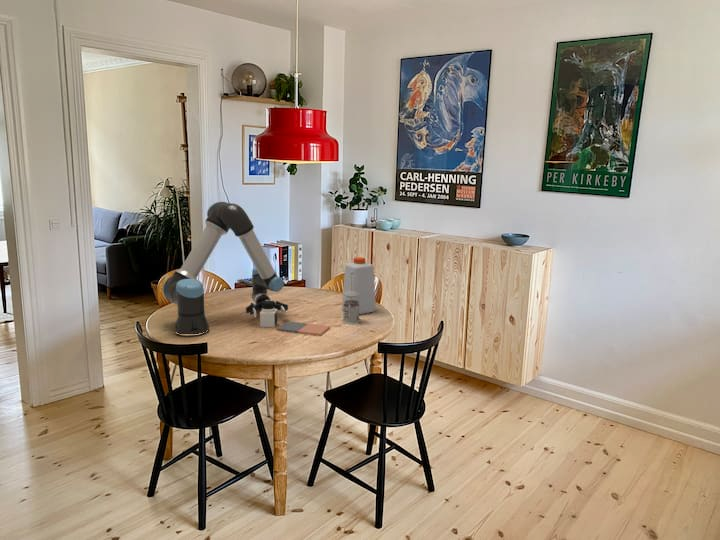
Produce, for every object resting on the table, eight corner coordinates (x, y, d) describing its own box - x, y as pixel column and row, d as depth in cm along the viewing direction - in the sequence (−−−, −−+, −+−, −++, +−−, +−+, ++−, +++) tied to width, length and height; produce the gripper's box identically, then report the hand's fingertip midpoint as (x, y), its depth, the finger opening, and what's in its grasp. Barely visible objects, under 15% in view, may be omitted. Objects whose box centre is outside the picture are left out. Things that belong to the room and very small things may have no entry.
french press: (343, 324, 262) (344, 274, 257) (338, 317, 273) (338, 269, 268) (363, 323, 265) (364, 273, 260) (357, 316, 276) (357, 268, 271)
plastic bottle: (362, 305, 297) (363, 254, 291) (378, 312, 284) (379, 259, 278) (339, 309, 289) (339, 257, 283) (354, 316, 276) (354, 262, 270)
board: (320, 336, 246) (320, 333, 245) (276, 330, 252) (276, 328, 252) (330, 328, 257) (330, 326, 257) (287, 323, 264) (287, 321, 263)
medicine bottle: (275, 327, 257) (274, 303, 254) (260, 327, 257) (259, 302, 254) (277, 323, 264) (277, 299, 261) (262, 322, 264) (262, 298, 261)
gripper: (287, 307, 281) (296, 318, 262) (238, 310, 274) (243, 323, 254) (287, 292, 280) (295, 303, 260) (237, 296, 272) (242, 307, 252)
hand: (269, 313), depth 257 cm, fingers open, 13 cm apart
